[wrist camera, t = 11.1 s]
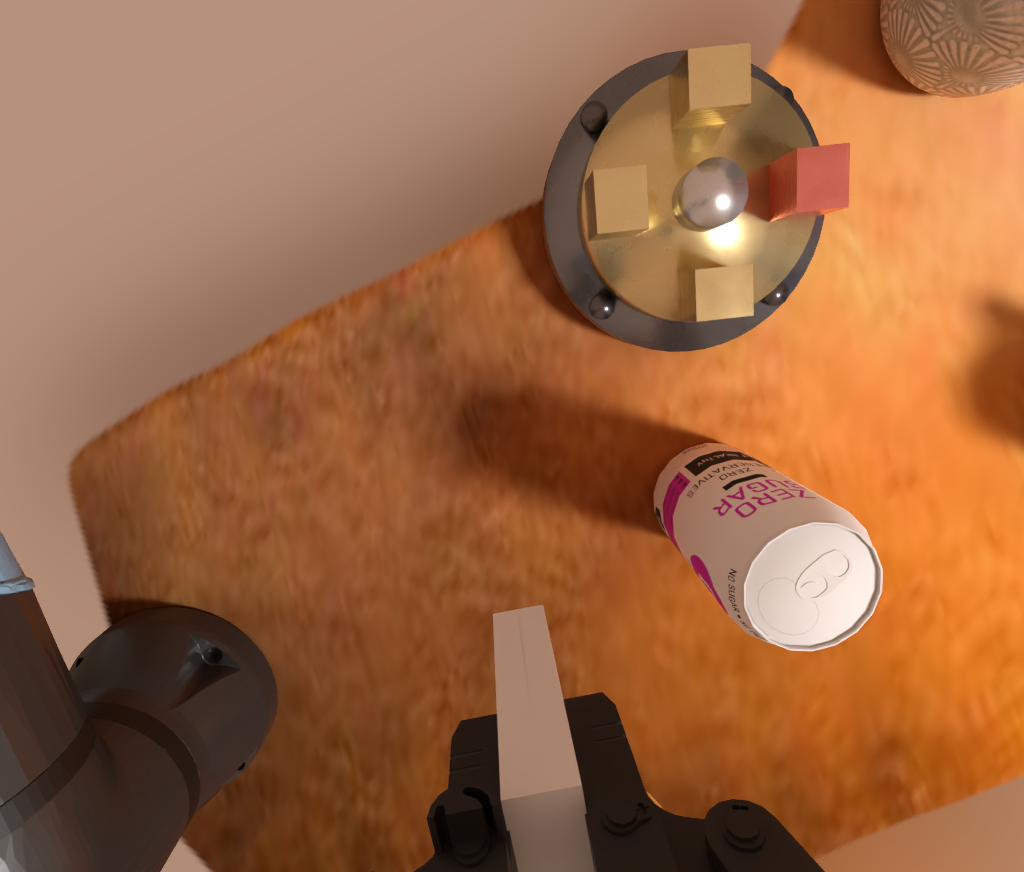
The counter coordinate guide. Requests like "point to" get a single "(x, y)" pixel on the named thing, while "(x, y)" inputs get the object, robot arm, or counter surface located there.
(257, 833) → the counter surface
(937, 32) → the planter
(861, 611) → the supplement can
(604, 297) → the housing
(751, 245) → the brass disc with cubes
